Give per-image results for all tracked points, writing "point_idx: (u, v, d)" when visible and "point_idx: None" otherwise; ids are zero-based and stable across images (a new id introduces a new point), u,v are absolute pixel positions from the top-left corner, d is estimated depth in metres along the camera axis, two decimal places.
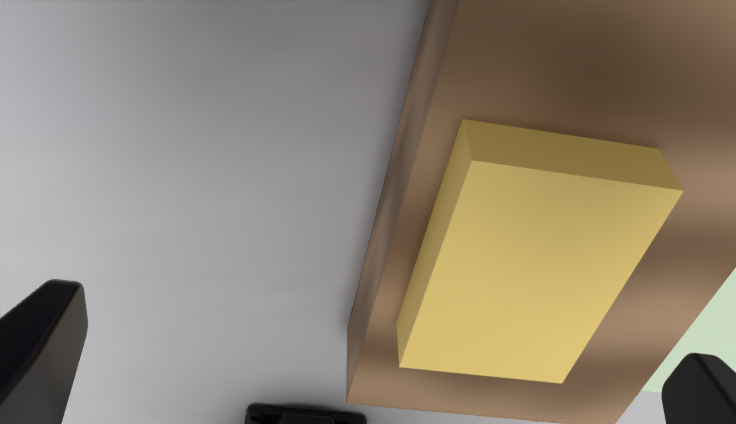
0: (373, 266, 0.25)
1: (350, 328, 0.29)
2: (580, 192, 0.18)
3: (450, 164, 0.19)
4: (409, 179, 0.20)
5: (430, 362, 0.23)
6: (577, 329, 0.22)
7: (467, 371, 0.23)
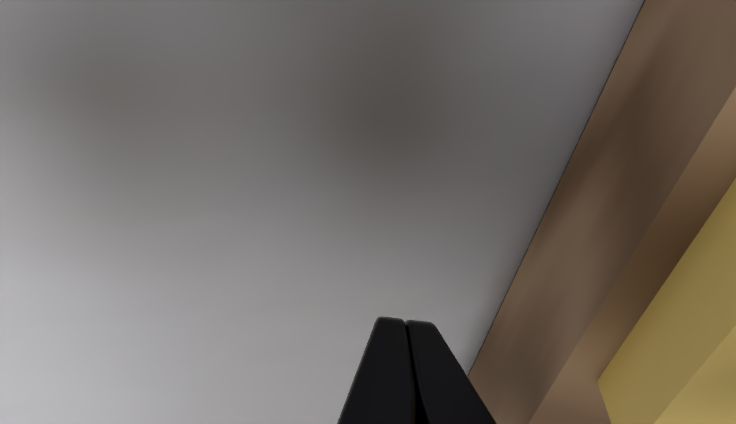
0: (552, 292, 0.16)
1: (479, 376, 0.21)
2: None
3: None
4: (697, 145, 0.11)
5: None
6: None
7: None
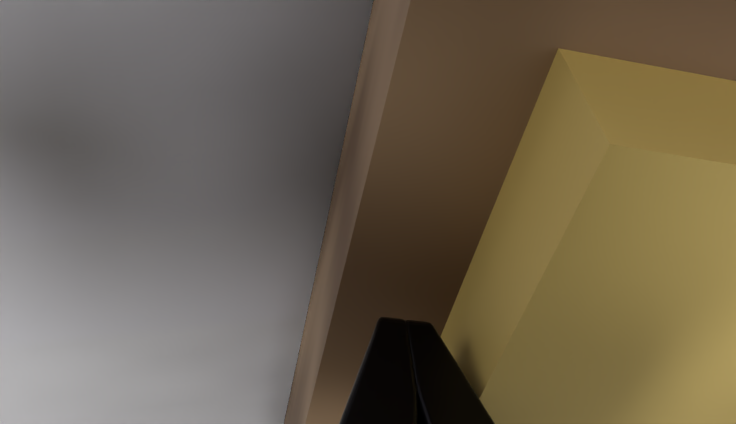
0: (310, 344, 0.14)
1: None
2: None
3: (521, 161, 0.08)
4: (364, 186, 0.09)
5: None
6: None
7: None
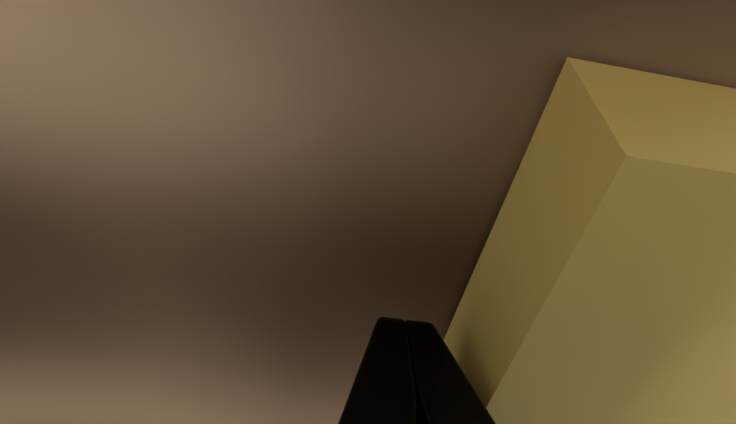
0: None
1: None
2: None
3: (529, 168, 0.08)
4: None
5: None
6: None
7: None
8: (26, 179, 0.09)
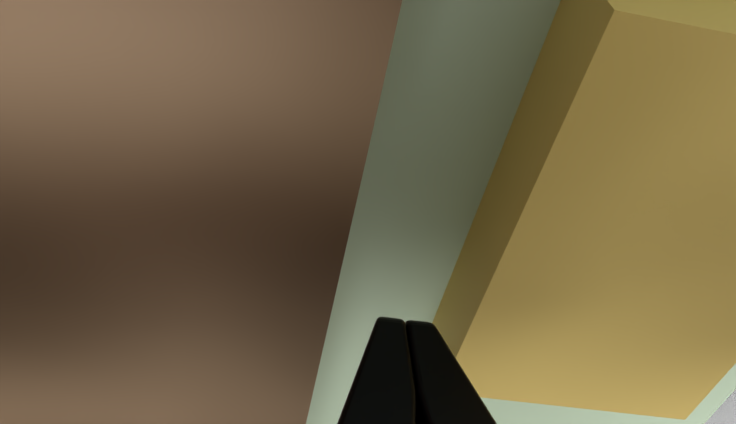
0: None
1: None
2: None
3: None
4: None
5: None
6: None
7: None
8: None
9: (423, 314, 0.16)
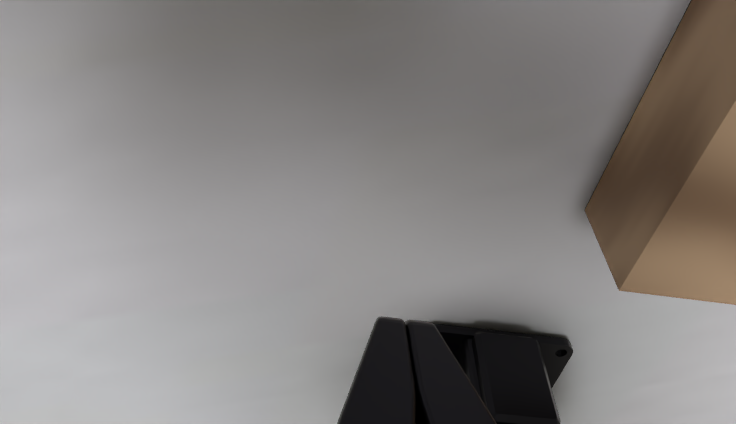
0: (694, 83, 0.18)
1: (601, 202, 0.23)
2: None
3: None
4: None
5: None
6: None
7: None
8: None
9: None
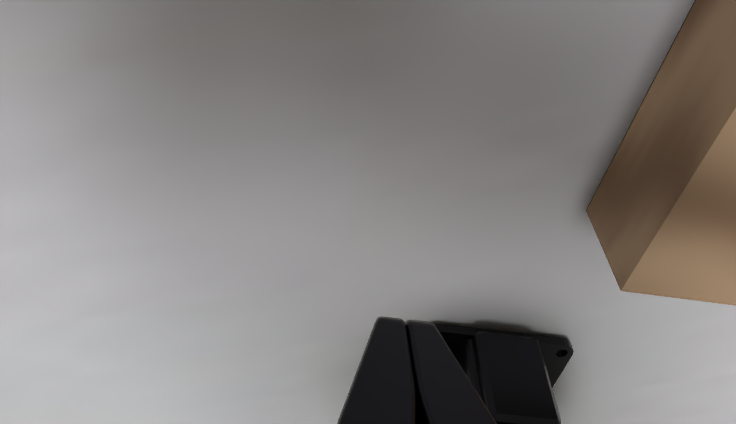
0: (697, 84, 0.18)
1: (602, 202, 0.23)
2: None
3: None
4: None
5: None
6: None
7: None
8: None
9: None
